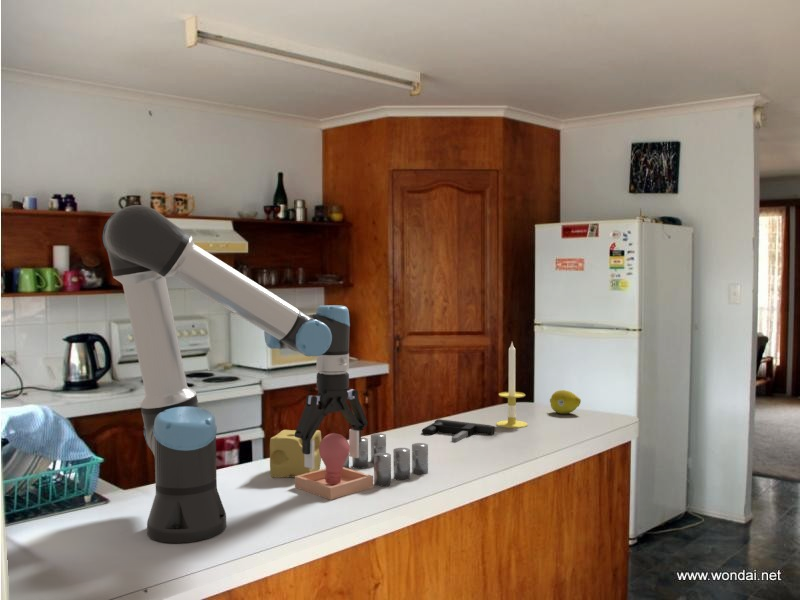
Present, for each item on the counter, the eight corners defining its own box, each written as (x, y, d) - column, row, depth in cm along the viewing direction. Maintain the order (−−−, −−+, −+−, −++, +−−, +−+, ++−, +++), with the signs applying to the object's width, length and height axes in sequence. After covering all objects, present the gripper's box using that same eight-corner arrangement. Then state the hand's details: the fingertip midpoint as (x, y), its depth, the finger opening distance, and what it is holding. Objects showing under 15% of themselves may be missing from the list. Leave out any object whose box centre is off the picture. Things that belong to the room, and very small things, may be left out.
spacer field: (382, 487, 175) (382, 458, 174) (329, 471, 188) (329, 444, 188) (431, 472, 187) (431, 444, 186) (378, 458, 200) (378, 432, 200)
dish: (330, 499, 166) (330, 488, 166) (294, 487, 175) (294, 476, 175) (373, 486, 176) (373, 475, 175) (337, 475, 185) (337, 465, 184)
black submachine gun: (475, 437, 215) (496, 423, 229) (414, 430, 225) (438, 416, 238) (475, 448, 215) (496, 434, 229) (414, 440, 225) (438, 427, 239)
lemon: (544, 413, 257) (544, 390, 257) (556, 409, 263) (556, 387, 262) (572, 417, 250) (572, 394, 249) (584, 414, 255) (584, 390, 255)
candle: (496, 420, 246) (496, 339, 244) (527, 421, 244) (527, 339, 243) (495, 427, 236) (496, 342, 234) (528, 428, 234) (528, 342, 233)
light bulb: (355, 484, 176) (355, 433, 175) (333, 490, 170) (333, 438, 170) (335, 478, 180) (335, 429, 180) (312, 484, 175) (312, 433, 175)
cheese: (309, 480, 181) (309, 439, 181) (267, 477, 183) (267, 437, 183) (322, 468, 191) (322, 429, 191) (282, 466, 194) (282, 428, 193)
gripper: (299, 379, 162) (299, 475, 163) (382, 368, 180) (381, 455, 181) (279, 375, 168) (279, 469, 169) (361, 365, 185) (361, 450, 186)
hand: (332, 462), depth 175 cm, fingers open, 13 cm apart
